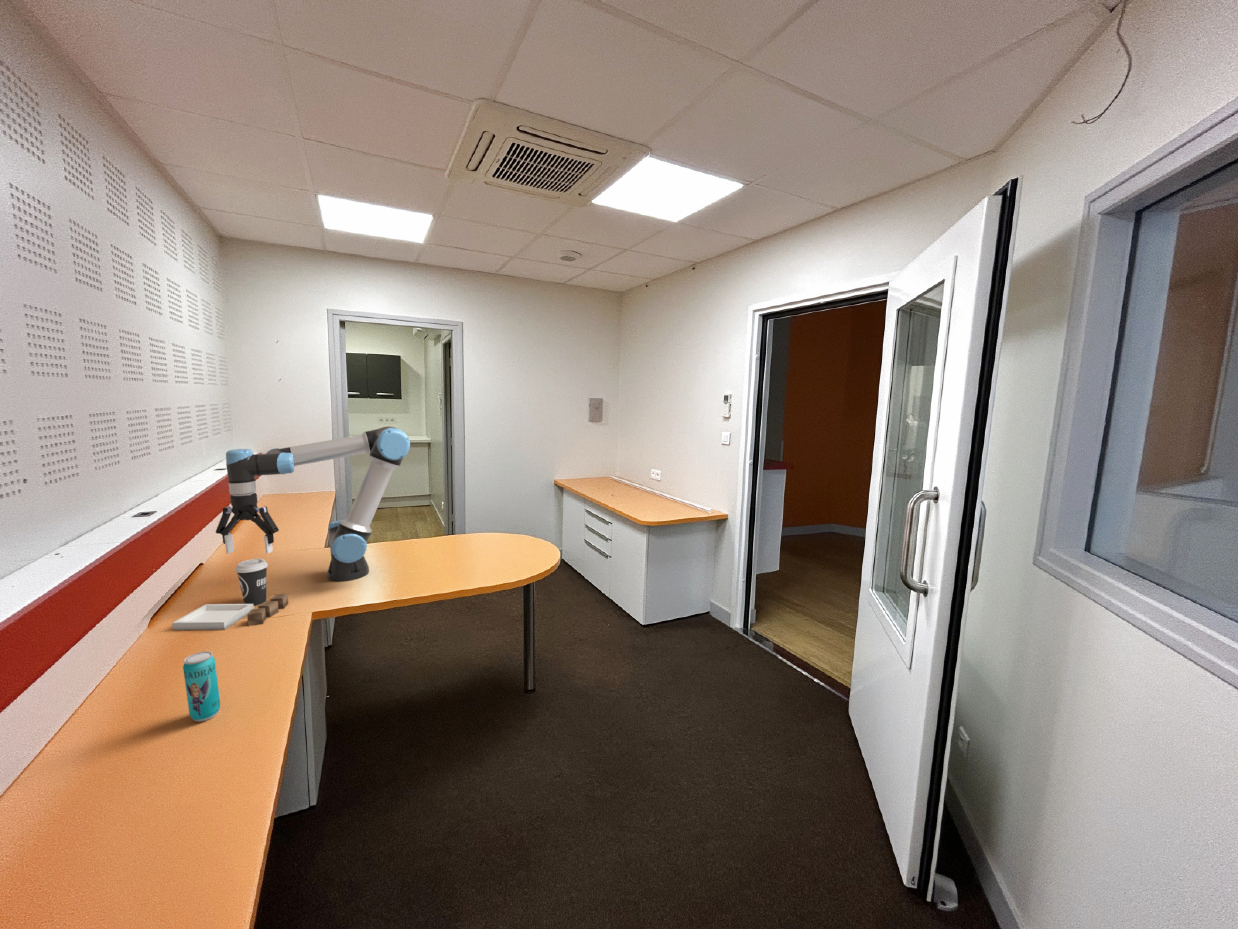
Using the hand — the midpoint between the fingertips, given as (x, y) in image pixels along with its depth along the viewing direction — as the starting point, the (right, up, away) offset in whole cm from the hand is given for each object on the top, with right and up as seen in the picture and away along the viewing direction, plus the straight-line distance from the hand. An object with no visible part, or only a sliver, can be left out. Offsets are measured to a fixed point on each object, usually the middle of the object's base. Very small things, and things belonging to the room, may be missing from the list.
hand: (249, 552), depth 183 cm
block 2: (+11, -20, -7) cm, 24 cm away
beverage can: (+33, -29, -61) cm, 75 cm away
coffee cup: (0, -19, +3) cm, 19 cm away
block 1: (+12, -21, -13) cm, 27 cm away
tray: (-3, -21, -11) cm, 24 cm away
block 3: (+11, -19, -1) cm, 22 cm away
